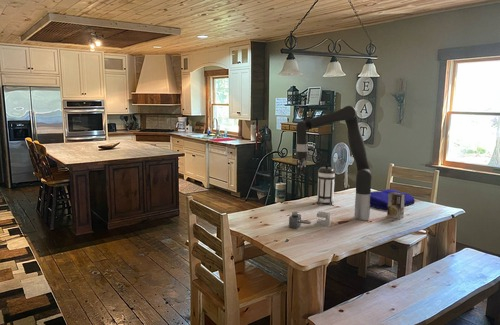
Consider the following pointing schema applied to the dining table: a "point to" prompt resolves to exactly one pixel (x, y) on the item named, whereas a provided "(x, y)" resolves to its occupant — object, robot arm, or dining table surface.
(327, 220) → the lock block
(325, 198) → the coffee press
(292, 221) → the stubby hammer
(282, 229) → the dining table surface
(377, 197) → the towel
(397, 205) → the coffee box
